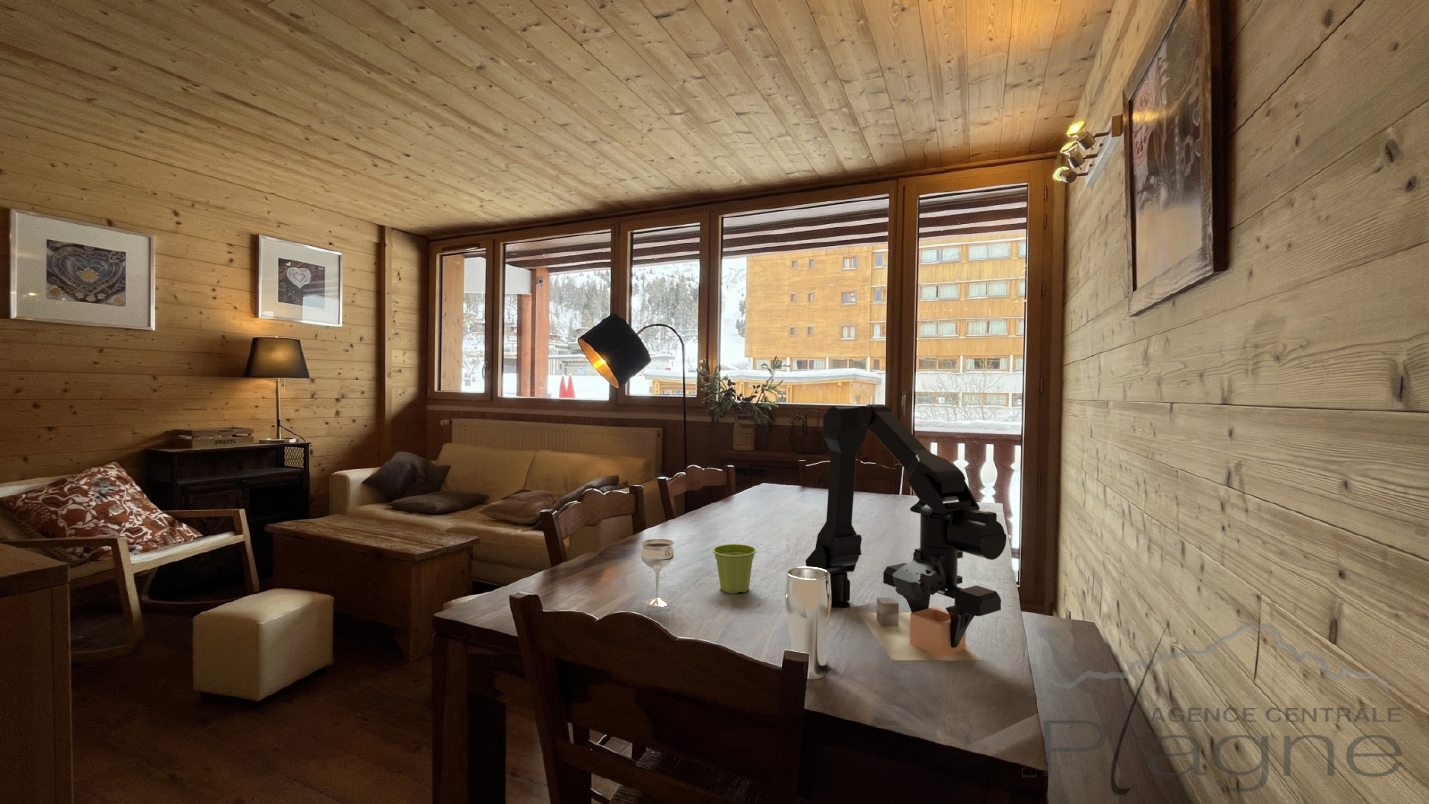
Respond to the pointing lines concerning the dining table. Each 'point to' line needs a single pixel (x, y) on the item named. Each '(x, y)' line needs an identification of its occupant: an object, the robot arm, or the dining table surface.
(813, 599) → the beer glass
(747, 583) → the plant pot
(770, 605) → the dining table surface
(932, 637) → the collar
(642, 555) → the wineglass
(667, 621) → the dining table surface
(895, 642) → the post board
